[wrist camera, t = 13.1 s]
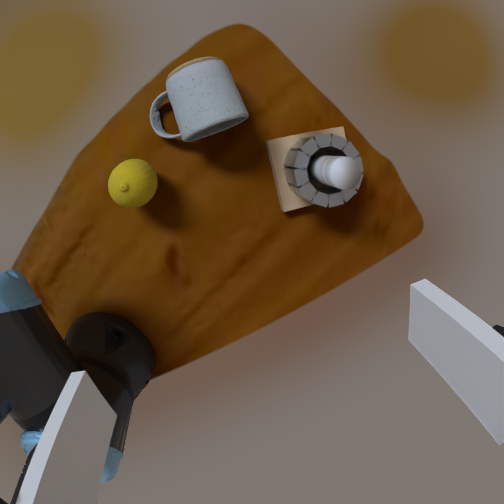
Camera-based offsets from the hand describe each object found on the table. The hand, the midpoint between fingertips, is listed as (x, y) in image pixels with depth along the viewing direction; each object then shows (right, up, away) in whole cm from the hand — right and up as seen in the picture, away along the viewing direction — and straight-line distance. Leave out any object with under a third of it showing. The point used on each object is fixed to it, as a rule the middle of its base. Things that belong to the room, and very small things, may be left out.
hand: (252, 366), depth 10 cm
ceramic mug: (-7, +21, +23) cm, 32 cm away
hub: (+8, +14, +25) cm, 30 cm away
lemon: (-14, +13, +25) cm, 31 cm away
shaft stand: (+7, +15, +26) cm, 31 cm away
